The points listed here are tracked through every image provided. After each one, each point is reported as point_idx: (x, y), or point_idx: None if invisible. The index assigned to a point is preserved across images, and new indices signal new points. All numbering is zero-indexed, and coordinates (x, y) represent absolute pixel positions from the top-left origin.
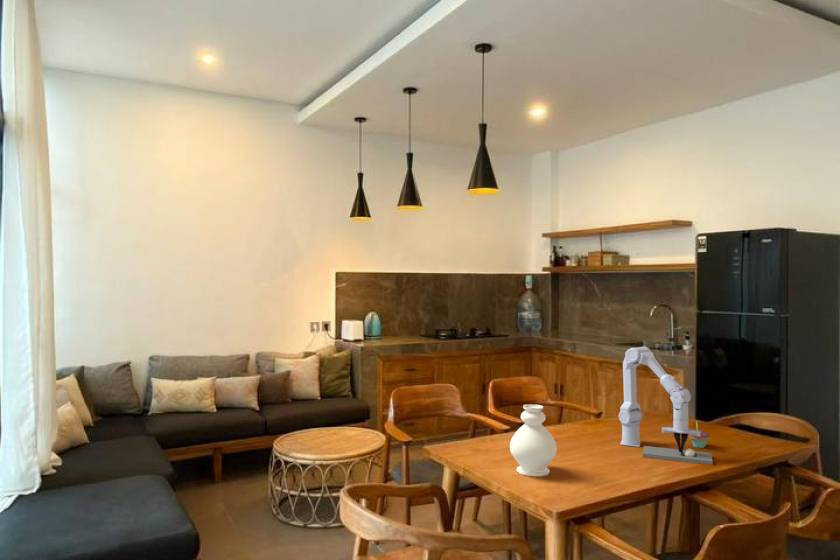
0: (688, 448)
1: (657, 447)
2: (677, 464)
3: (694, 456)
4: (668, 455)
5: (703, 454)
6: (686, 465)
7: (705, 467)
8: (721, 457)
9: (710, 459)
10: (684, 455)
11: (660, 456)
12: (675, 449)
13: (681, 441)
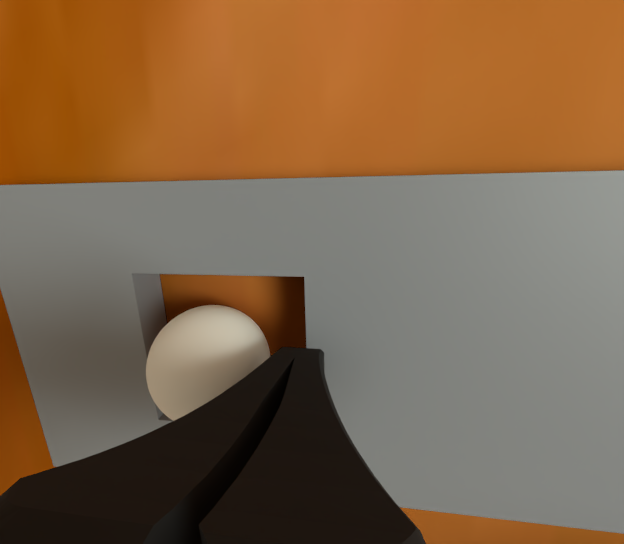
0: (193, 405)
1: (569, 521)
2: (350, 10)
3: None
4: (467, 219)
5: (97, 403)
6: (242, 22)
7: (50, 50)
8: (15, 441)
9: (4, 248)
10: None
11: (585, 172)
12: None
13: (236, 436)
